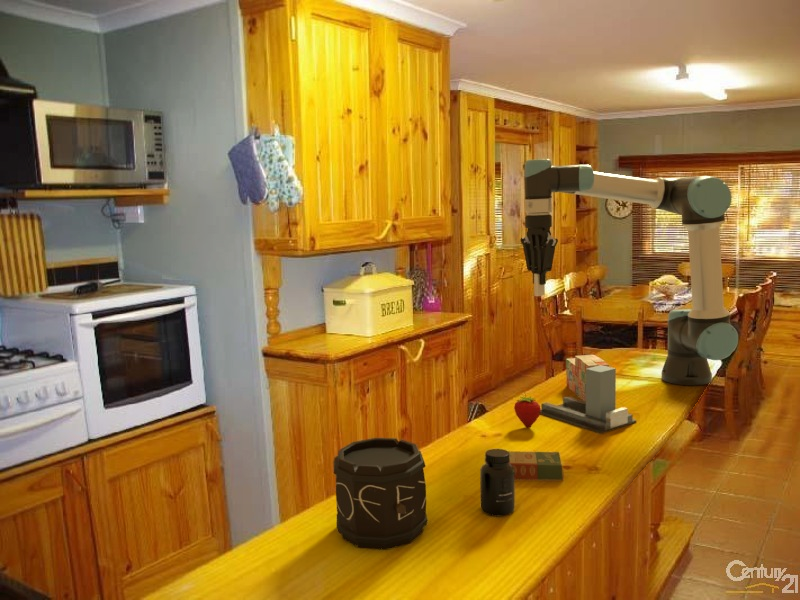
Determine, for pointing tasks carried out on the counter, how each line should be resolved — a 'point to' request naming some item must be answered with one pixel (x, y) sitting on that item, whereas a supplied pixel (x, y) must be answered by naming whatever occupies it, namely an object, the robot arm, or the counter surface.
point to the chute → (576, 415)
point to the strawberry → (527, 410)
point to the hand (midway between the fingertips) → (539, 295)
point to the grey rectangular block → (600, 391)
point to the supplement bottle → (497, 483)
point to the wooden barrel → (380, 493)
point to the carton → (536, 465)
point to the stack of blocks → (580, 372)
